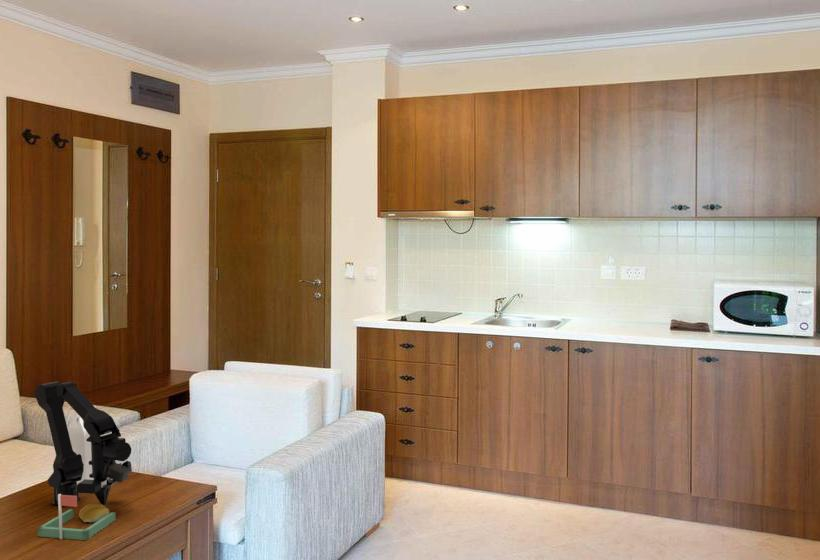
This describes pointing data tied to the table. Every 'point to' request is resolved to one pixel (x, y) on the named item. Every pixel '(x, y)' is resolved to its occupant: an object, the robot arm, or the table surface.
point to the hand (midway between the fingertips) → (103, 504)
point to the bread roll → (93, 512)
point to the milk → (81, 445)
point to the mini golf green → (67, 533)
